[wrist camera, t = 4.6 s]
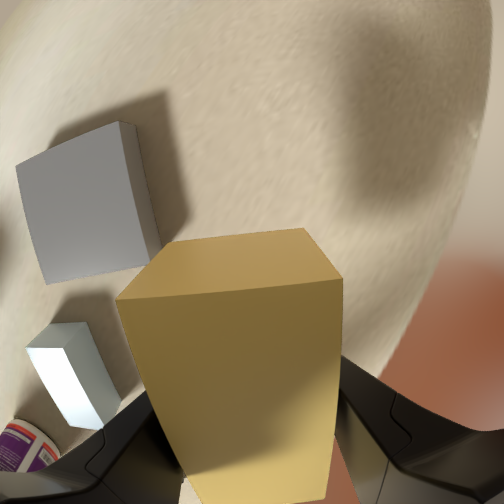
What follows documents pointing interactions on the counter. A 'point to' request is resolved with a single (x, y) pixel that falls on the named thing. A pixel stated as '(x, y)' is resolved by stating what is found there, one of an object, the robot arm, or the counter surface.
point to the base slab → (89, 205)
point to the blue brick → (75, 374)
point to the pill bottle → (25, 448)
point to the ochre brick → (242, 361)
